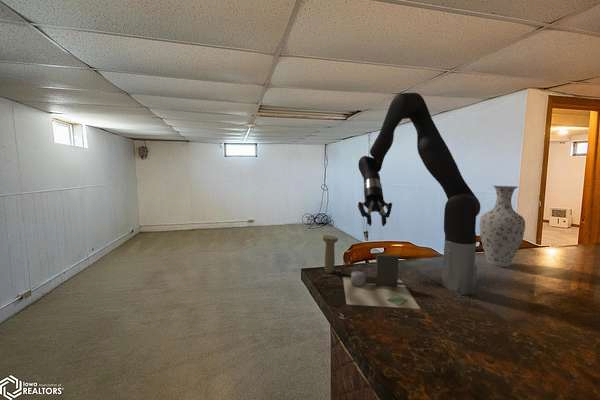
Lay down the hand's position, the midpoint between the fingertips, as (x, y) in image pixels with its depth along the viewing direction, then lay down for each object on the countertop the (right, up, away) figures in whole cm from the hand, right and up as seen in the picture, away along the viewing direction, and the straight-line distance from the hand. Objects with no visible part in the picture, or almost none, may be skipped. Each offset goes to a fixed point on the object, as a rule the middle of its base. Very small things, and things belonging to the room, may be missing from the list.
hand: (377, 224), depth 104 cm
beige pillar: (-18, -20, +2) cm, 27 cm away
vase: (+59, -19, +16) cm, 64 cm away
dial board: (-5, -22, -15) cm, 27 cm away
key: (-2, -20, -11) cm, 23 cm away
